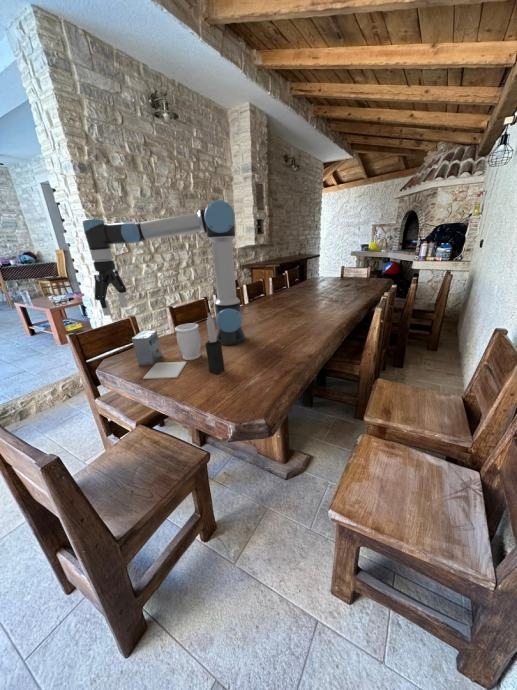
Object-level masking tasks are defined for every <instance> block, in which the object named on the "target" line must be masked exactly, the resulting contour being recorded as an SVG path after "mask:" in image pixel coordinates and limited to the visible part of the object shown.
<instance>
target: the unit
mask: <svg viewBox="0 0 517 690" xmlns="http://www.w3.org/2000/svg"><path fill="white" fill-rule="evenodd" d="M131 340H132V345H133V348H134V352H135V353H134V354H135V357H136V360H137V364H138V367H139V366H154V365H155V364H156V363H158V361H159V360H160V358H161V357H163V355H162V349H161V346H160V345H161V344H160V340H159V337H158V332H157V330H155V329H154V330H141V331H140V332H139V333H137V334H136V335H135V336H133V337H132V338H131Z"/></svg>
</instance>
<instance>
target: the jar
mask: <svg viewBox="0 0 517 690" xmlns="http://www.w3.org/2000/svg"><path fill="white" fill-rule="evenodd" d="M174 330H175V332H176V342H177V345H178V347H179V351H180V353H181V354H182V359H183V360H184V361H185V360H186V361H192V360H193V361H194V360H197V359H199V358H200V357H201V352H200V351H201V342H202V341H201V340H202V339H201V334H200V331H199V324H198V323H193V322H190V323H183V324H179V325H177V326H175V328H174Z"/></svg>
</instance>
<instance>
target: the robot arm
mask: <svg viewBox="0 0 517 690" xmlns="http://www.w3.org/2000/svg"><path fill="white" fill-rule="evenodd" d="M235 215H236V214H235V211H234V209H233V207H232V206H231V205H230V204H229V203H228V202H227V201H224V200H218V199H217V200H214V201H213V200H212V201H211V202H210V203H208V204H207V205H206V207H205V208H203V209H199V210H198V212H195V213H190V214H183V215H178V216H171V217H167V218H166V217H165V218H160V219H154V220H149V221H148V220H147V221H141V222H117V223H105V222H104V220H103V219H102V218H87V219H85V218H84V219H83V220H82V227H83V230H84V231H83V233H84V235H85V238H86V241H87V244H88V248H89V252H90V256H91V259H92V261H93V268H94V271H96V272H97V273H98V274H94V275H93V277H94V278H93V279H94V299H95V300H96V301H99V303H100V306H101V309H102V313H103V316H112V312H111V309H110V305H109V301H108V299H107V295H108V294H107V292H108V287H109V285H110V284H111V285H112V286H113V287H114V289H115V290H116V292H117V296H118V297H117V298H118V301H119V304H120V308H128V303H127V299H126V295H125V293H127V286H125V283H124V282H123V280H122V278H121V276H120V274H119V270H115V269H116V266H115V265H116V264H115V262H114V260H113V258H114V256H113V254H112V250H111V245H114V244H115V245H119V244H135V243H139V242H146V241H150V240H157V239H163V238H168V237H174V236H180V235H186V234H187V235H188V234H191V233H199V232H203V233H204V234H206V237H207V239H208V240H209V241H210V242H211V248H212V249H211V250H212V257H213V269H214V278H215V286H216V288H215V289H216V297H217V298H215V300H214V311H215V324H216V326H217V327H218V329H217V332H216V339H218V340H219V341H221V346H234V345H239V344H241V343H243V342H244V341H246V335H245V332H244V329H243V328H242V323H243V315H242V307H241V300H240V298H239V297H237V285H236V275H235V273H236V272H235V259H234V249H233V248H234V247H233V240H235V238H236V228H235V222H236V221H235V220H236V216H235Z"/></svg>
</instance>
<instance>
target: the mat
mask: <svg viewBox="0 0 517 690" xmlns="http://www.w3.org/2000/svg"><path fill="white" fill-rule="evenodd" d="M187 364H188V361H169V362H168V361H165V362H156V363H155V364H154V365H152V367H151V368H150V369H149V370H148V371H147V372H146V373H145V375H144V376H143V377H142V378H143V380H155V379H156V380H159V379H178V377H179V376H180V375H181V372H182V371H183V369H184V368H185V366H186V365H187Z"/></svg>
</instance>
